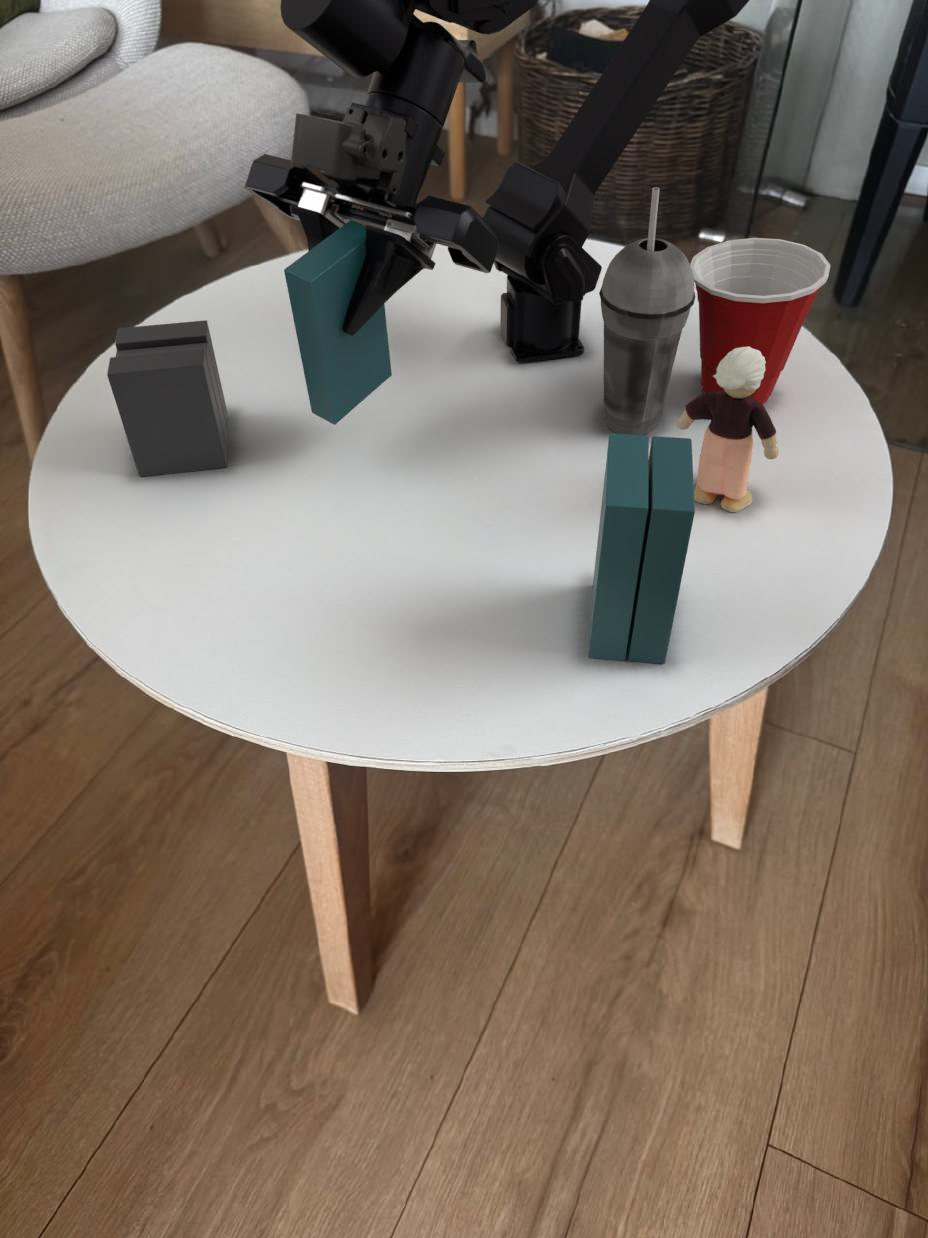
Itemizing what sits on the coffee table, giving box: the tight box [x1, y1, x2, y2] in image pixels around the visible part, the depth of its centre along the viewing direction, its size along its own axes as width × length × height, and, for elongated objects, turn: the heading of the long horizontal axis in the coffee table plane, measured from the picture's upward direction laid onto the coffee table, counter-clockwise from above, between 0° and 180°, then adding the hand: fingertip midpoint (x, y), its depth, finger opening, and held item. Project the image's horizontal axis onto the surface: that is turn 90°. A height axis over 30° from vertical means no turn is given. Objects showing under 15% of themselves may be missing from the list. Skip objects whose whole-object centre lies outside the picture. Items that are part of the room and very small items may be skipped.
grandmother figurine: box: [676, 346, 780, 513], centre depth 72 cm, size 8×4×13 cm, turn 71°
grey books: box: [106, 319, 229, 478], centre depth 79 cm, size 7×8×10 cm
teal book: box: [283, 220, 393, 426], centre depth 73 cm, size 7×2×13 cm, turn 143°
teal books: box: [588, 432, 696, 665], centre depth 63 cm, size 7×5×13 cm
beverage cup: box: [598, 187, 696, 436], centre depth 77 cm, size 7×7×20 cm
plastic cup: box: [689, 237, 831, 406], centre depth 82 cm, size 11×11×12 cm
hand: (331, 328), depth 72 cm, fingers closed on teal book, 3 cm apart
